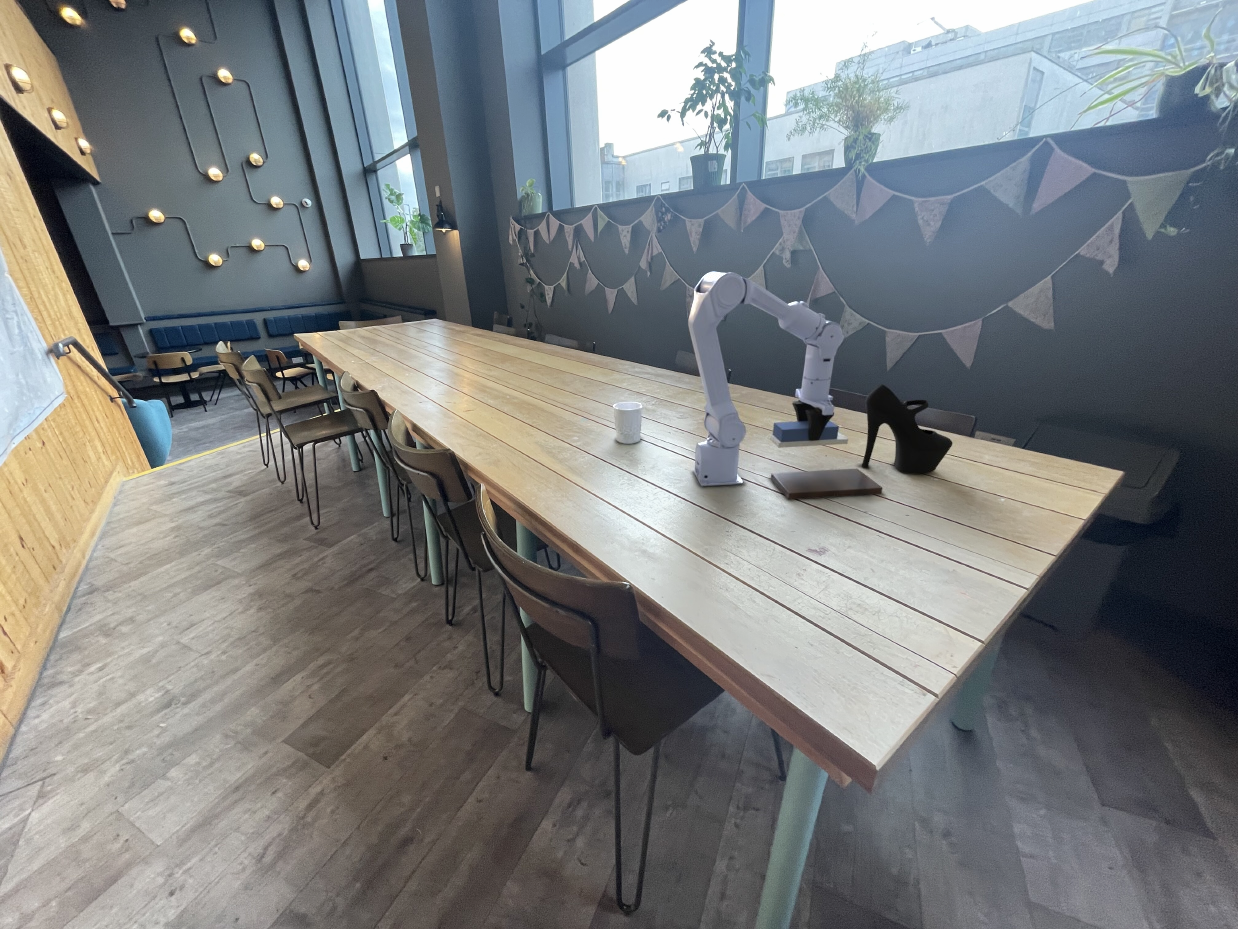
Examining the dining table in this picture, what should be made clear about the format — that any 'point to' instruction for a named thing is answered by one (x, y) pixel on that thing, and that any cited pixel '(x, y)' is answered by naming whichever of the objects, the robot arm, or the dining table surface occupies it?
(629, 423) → the white cup
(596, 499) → the dining table surface
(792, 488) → the shoe shelf
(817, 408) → the robot arm
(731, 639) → the dining table surface
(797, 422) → the blue and white eraser
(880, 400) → the high-heeled shoe
